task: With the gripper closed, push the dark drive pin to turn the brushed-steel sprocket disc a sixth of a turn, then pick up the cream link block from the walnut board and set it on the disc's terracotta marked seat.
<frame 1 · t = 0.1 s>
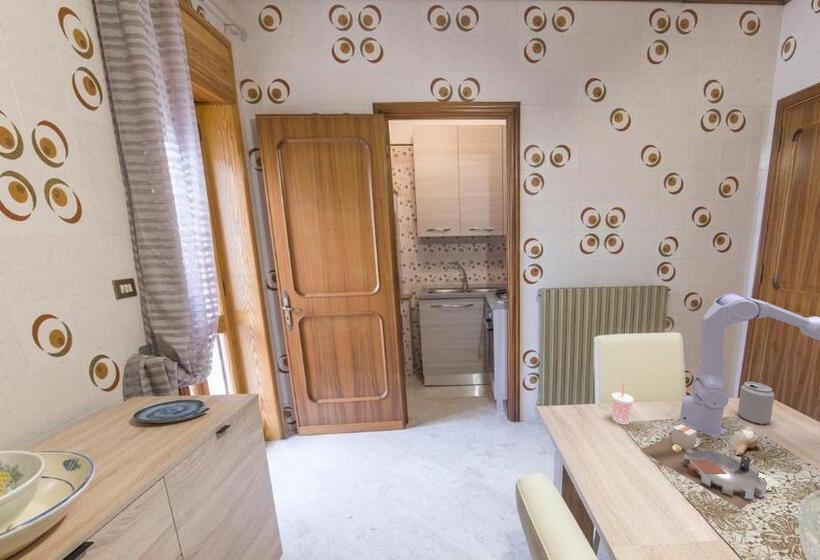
board: (704, 466, 87), on the table
sprocket: (723, 465, 82), point 3 cm above the table, hinge at 0.0°
beverage cup: (620, 422, 108), on the table
can: (753, 419, 107), on the table
link block: (683, 444, 95), point 1 cm above the table, touching board
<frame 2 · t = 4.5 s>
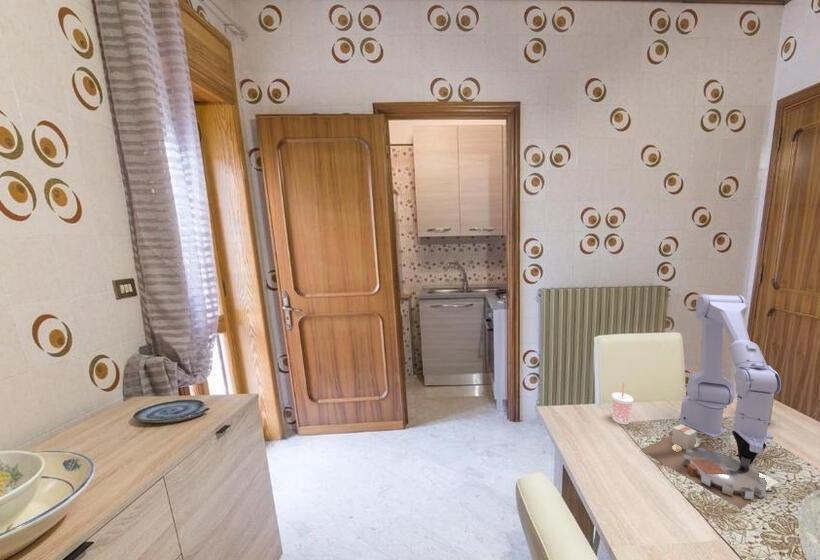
hand: (745, 462, 83), 4 cm above the table, tool pointing down, fingers closed, pressing on sprocket
sprocket: (723, 465, 82), point 3 cm above the table, hinge at -0.1°, touching gripper
everything else where it was.
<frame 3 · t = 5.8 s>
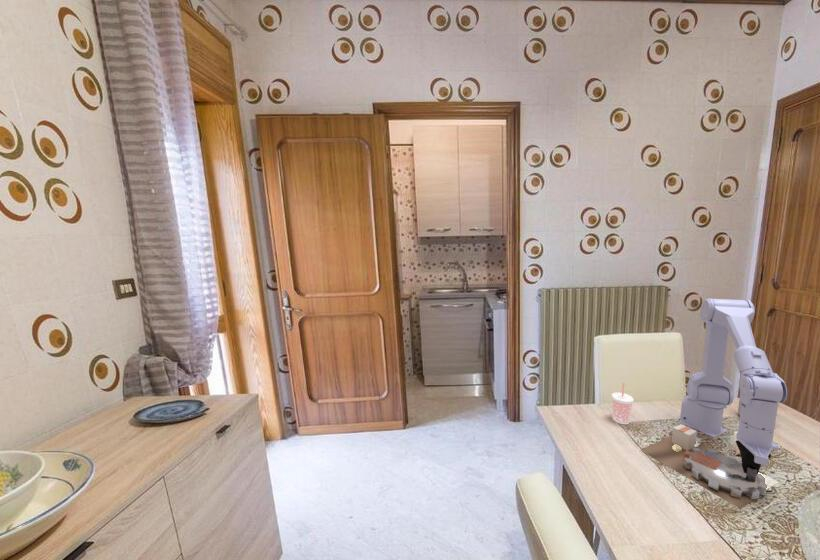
hand: (749, 472, 79), 4 cm above the table, tool pointing down, fingers closed, pressing on sprocket
sprocket: (723, 465, 82), point 3 cm above the table, hinge at -49.1°, touching gripper
everything else where it was.
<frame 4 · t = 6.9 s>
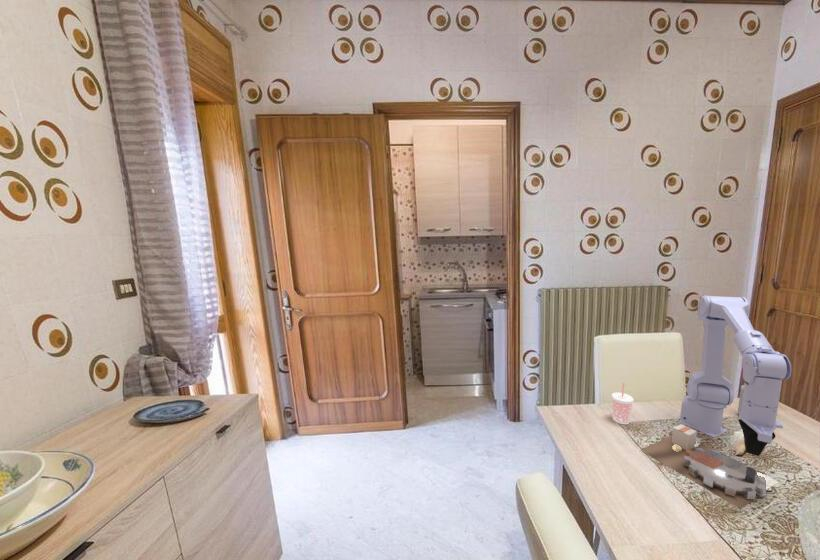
hand: (752, 452, 78), 10 cm above the table, tool pointing down, fingers closed
sprocket: (723, 465, 82), point 3 cm above the table, hinge at -56.6°
everything else where it was.
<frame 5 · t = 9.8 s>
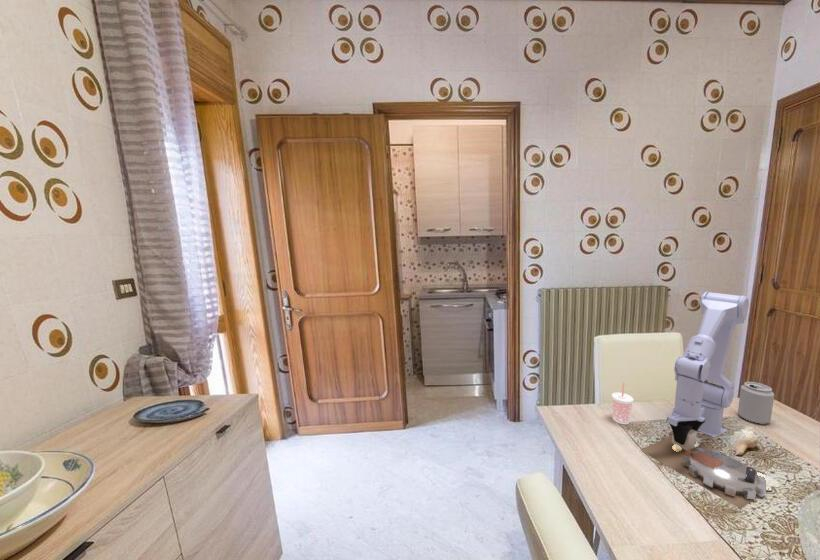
hand: (683, 440, 94), 2 cm above the table, tool pointing down, fingers closed on link block, 4 cm apart
link block: (683, 444, 95), point 1 cm above the table, touching board, gripper
everything else where it was.
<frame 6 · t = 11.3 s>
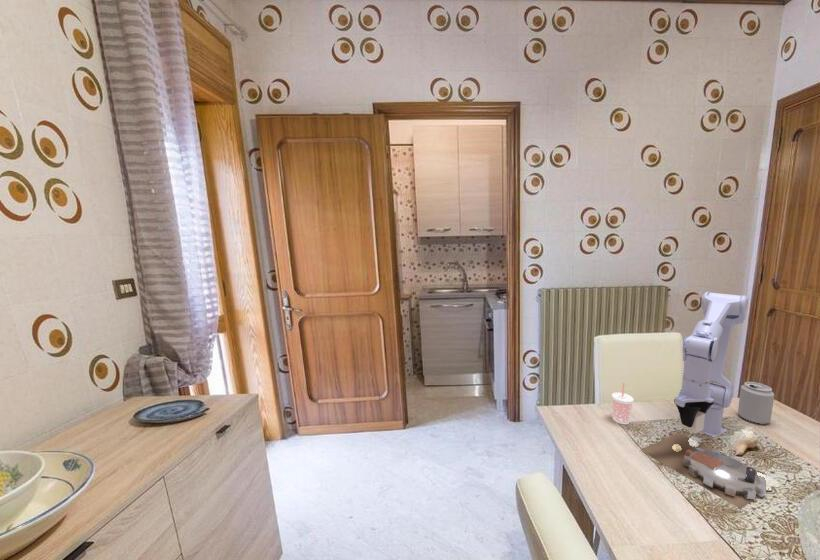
hand: (691, 423, 91), 9 cm above the table, tool pointing down, fingers closed on link block, 4 cm apart
link block: (690, 427, 91), point 8 cm above the table, touching gripper
everything else where it was.
when the fingers open (6 cm above the table, at t = 12.7 s): link block drops 1 cm, resting on sprocket.
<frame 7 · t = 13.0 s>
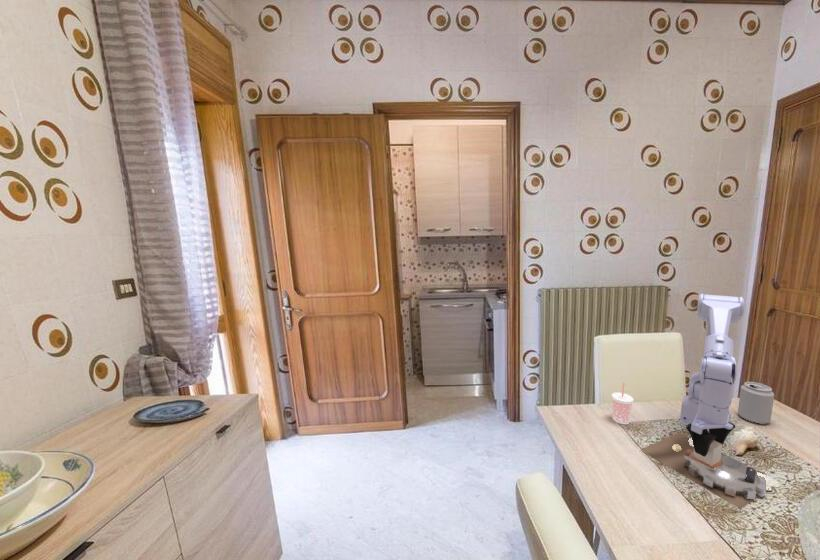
hand: (708, 449, 85), 6 cm above the table, tool pointing down, fingers open, 7 cm apart
sprocket: (723, 465, 82), point 3 cm above the table, hinge at -56.6°, touching link block
link block: (706, 458, 85), point 3 cm above the table, touching sprocket
everything else where it was.
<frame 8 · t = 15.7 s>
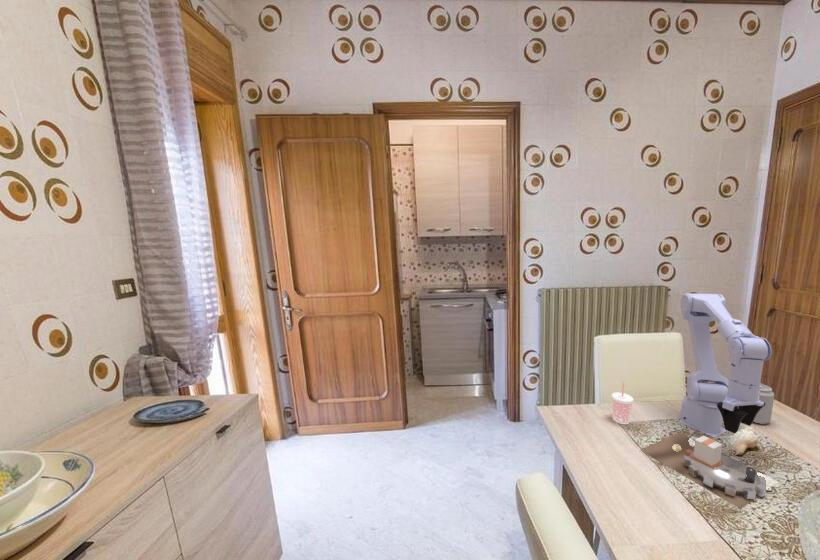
hand: (737, 427, 87), 10 cm above the table, tool pointing down, fingers open, 7 cm apart
nothing on the table moved.
at the end: sprocket at -57° (first picture: +0°); link block 0.1 cm from the target spot, point 3.1 cm above the table; link block tilted 0° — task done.
